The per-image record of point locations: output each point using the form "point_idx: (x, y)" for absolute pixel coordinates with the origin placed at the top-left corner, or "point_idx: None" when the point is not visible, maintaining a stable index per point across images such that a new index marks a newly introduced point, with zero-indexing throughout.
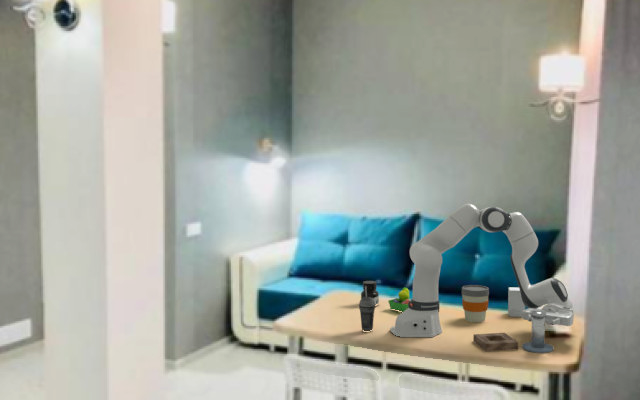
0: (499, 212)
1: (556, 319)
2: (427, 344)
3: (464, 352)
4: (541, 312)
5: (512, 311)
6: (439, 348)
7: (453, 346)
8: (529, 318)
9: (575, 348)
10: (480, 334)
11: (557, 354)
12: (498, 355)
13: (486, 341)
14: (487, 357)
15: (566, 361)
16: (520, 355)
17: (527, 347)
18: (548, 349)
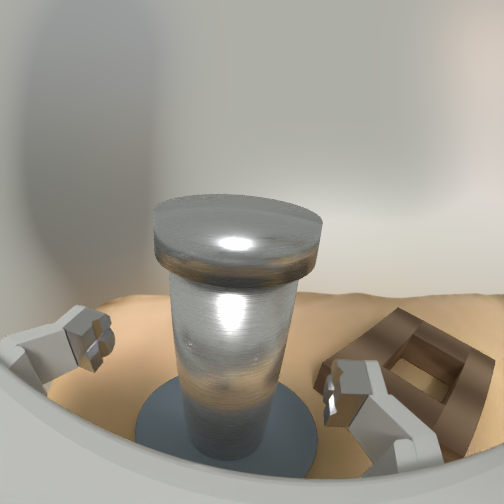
0: None
1: (40, 333)
2: (495, 316)
3: (417, 307)
4: (205, 208)
5: None
6: (465, 308)
7: (466, 327)
8: (353, 364)
9: None
10: (487, 372)
11: (128, 373)
12: (338, 316)
13: (416, 325)
14: (352, 298)
15: (112, 317)
16: None
17: (275, 395)
18: (164, 395)
